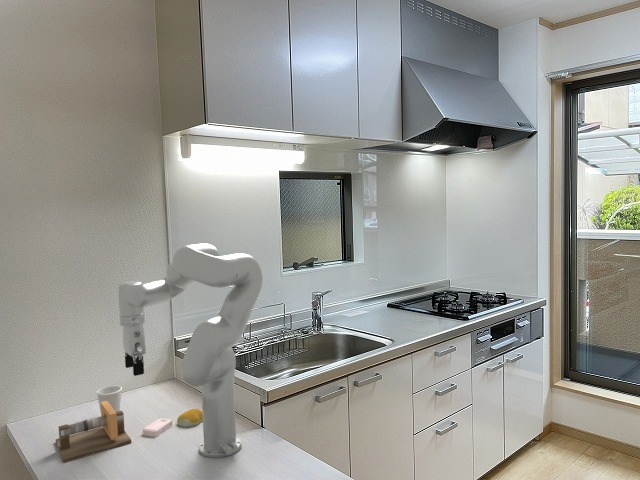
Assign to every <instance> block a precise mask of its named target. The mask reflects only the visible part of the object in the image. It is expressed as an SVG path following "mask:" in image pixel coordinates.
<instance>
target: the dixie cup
mask: <svg viewBox="0 0 640 480" xmlns="http://www.w3.org/2000/svg"><path fill="white" fill-rule="evenodd" d="M122 390H123V387H122V386H120V385H108V386H104V387H101V388H99V389H97V390H96V392H95V394H96V396H97V400H98V404H99V410H100V411H99V412H101V402H103V401H108V403H109V404H110V405H111V407H112V408H113V409H114V410H115V412H117V411H121V400H122Z"/></svg>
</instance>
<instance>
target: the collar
mask: <svg viewBox="0 0 640 480" xmlns="http://www.w3.org/2000/svg"><path fill="white" fill-rule="evenodd" d="M102 416H107V425H106V426H102V427H103V428H104V430H105V431H106V433H107V434H108V436H109V437H110V439H111V440H114V439H117V438H118V428H117V413H116V412H115V410H114V409H113V408H112V407H111V405H110V404H109V403H108V401H103V402H101V411H100V417H102Z"/></svg>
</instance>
